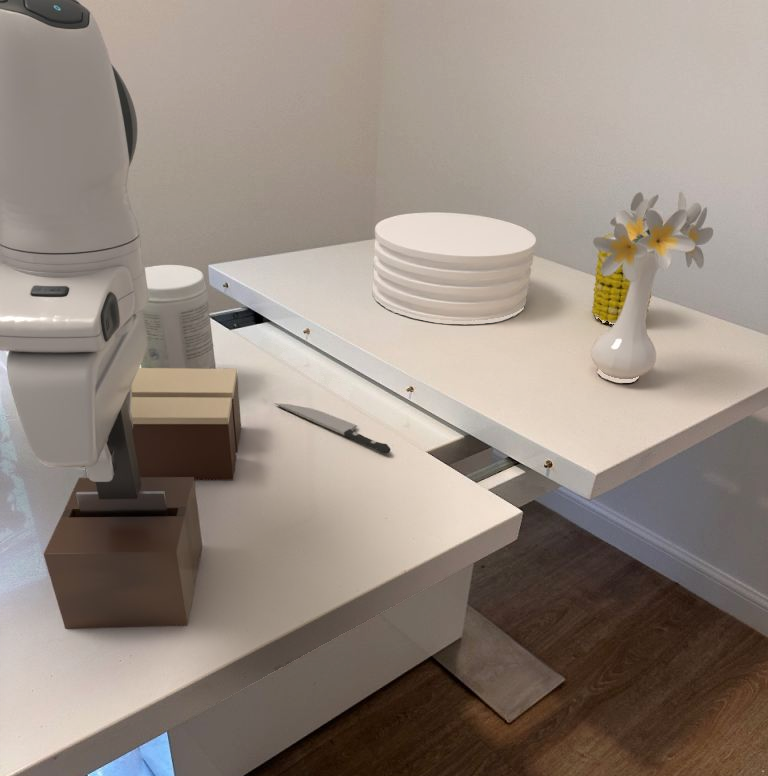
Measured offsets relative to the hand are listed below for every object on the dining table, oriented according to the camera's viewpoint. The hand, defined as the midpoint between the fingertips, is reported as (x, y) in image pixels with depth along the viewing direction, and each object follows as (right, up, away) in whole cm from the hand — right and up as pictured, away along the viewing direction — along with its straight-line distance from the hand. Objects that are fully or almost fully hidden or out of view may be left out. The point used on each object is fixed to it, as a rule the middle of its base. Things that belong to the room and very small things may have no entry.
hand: (112, 454), depth 57 cm
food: (+62, +29, +70) cm, 98 cm away
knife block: (-1, -11, +8) cm, 14 cm away
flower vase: (+56, +15, +50) cm, 76 cm away
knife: (-1, -11, +8) cm, 14 cm away
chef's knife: (+15, +6, +33) cm, 37 cm away
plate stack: (+33, +35, +75) cm, 89 cm away
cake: (-2, +4, +29) cm, 29 cm away
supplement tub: (-6, +13, +41) cm, 43 cm away
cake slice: (-1, 0, +24) cm, 24 cm away
